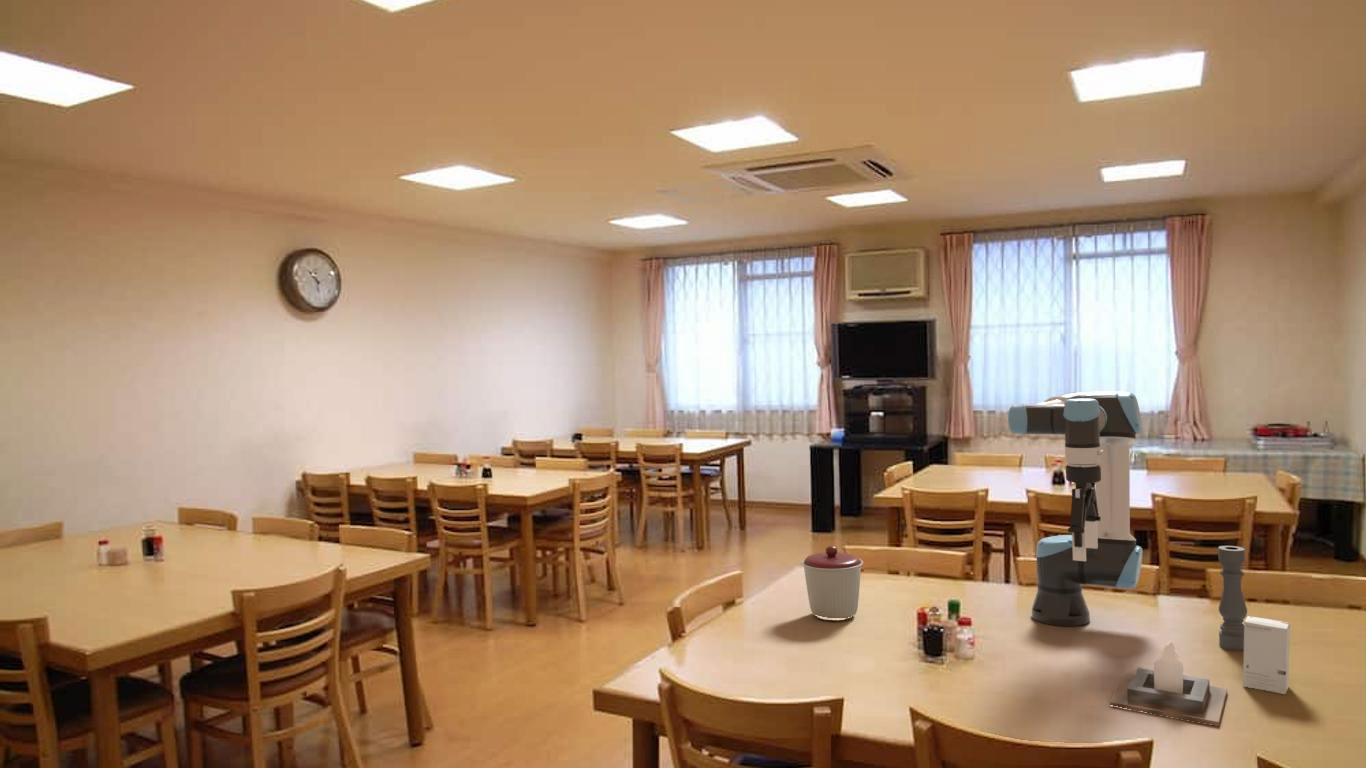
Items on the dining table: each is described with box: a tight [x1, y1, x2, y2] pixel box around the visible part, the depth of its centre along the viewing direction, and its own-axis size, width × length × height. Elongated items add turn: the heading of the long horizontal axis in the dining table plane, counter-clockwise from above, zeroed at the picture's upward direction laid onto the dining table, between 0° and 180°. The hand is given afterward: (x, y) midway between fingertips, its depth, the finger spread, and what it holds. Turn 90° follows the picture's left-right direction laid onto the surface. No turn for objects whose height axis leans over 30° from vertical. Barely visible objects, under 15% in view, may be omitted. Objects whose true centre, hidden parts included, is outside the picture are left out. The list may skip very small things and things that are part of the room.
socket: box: [1109, 667, 1228, 727], centre depth 189 cm, size 20×20×4 cm
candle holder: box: [1217, 545, 1248, 652], centre depth 218 cm, size 6×6×25 cm
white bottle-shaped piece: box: [1153, 640, 1184, 694], centre depth 189 cm, size 6×12×6 cm
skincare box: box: [1242, 615, 1291, 695], centre depth 193 cm, size 8×6×15 cm
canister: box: [800, 545, 864, 618], centre depth 258 cm, size 18×18×21 cm
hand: (1085, 554), depth 205 cm, fingers open, 13 cm apart
